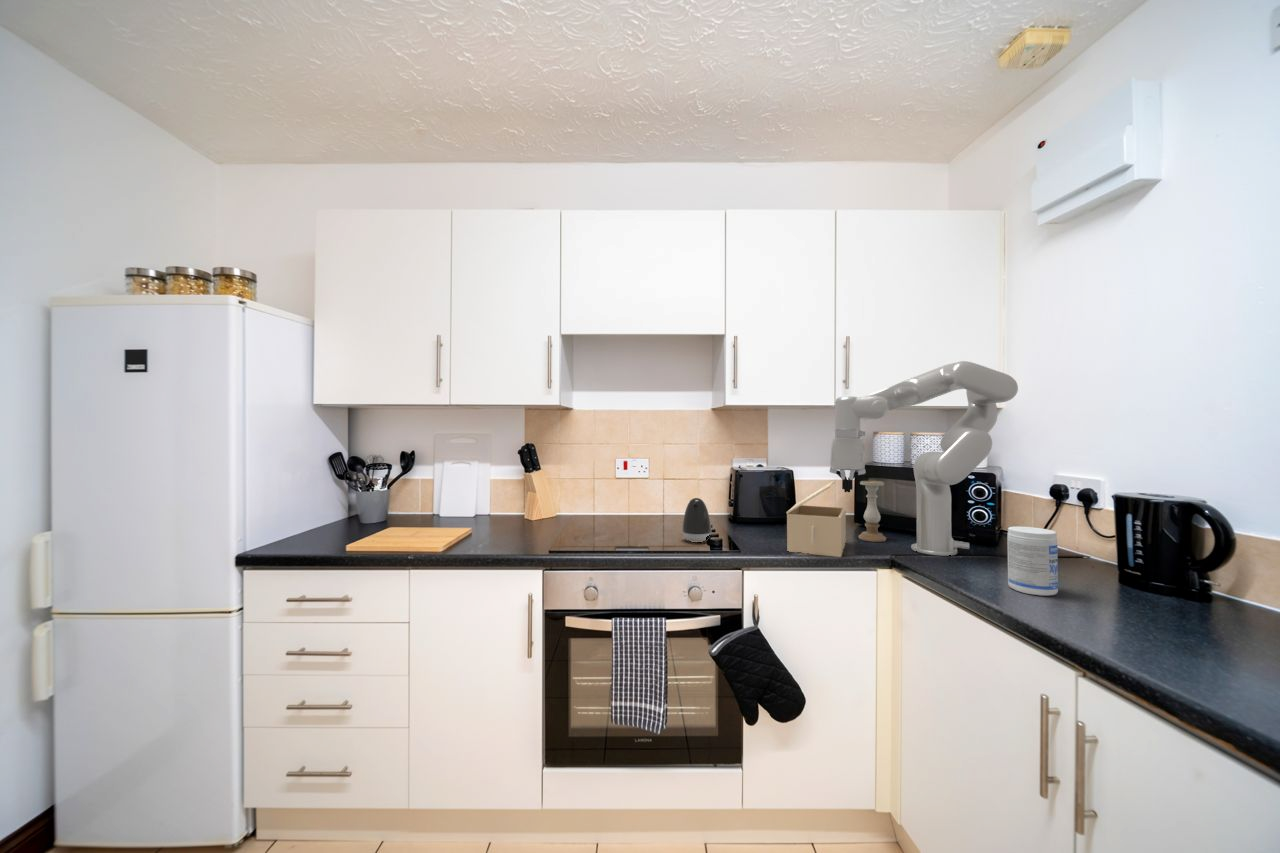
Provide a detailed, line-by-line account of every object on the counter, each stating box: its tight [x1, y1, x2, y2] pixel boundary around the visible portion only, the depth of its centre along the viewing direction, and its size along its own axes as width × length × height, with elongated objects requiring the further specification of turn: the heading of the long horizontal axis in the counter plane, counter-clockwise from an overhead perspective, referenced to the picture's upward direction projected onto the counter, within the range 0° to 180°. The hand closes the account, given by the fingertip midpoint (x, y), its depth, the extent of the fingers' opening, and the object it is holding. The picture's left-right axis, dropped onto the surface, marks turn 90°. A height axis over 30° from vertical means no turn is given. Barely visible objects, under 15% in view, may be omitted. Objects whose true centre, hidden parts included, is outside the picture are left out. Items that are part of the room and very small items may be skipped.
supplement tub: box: [1007, 526, 1059, 597], centre depth 119 cm, size 10×10×15 cm
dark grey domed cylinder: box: [681, 497, 712, 542], centre depth 172 cm, size 10×10×15 cm
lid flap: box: [785, 479, 837, 515], centre depth 164 cm, size 16×20×1 cm
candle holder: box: [858, 480, 887, 543], centre depth 174 cm, size 9×9×20 cm
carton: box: [786, 504, 847, 558], centre depth 161 cm, size 16×24×12 cm, turn 154°
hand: (847, 491), depth 159 cm, fingers closed
